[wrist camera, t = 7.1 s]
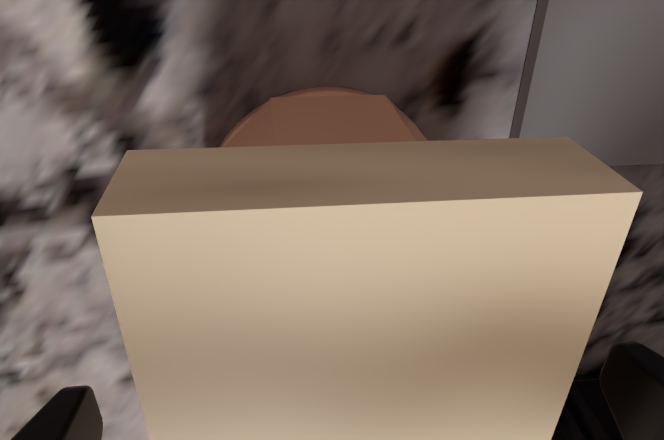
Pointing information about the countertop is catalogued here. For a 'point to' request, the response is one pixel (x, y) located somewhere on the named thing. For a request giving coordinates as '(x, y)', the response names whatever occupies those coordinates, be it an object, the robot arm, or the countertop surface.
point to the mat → (596, 78)
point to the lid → (360, 285)
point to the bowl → (323, 120)
